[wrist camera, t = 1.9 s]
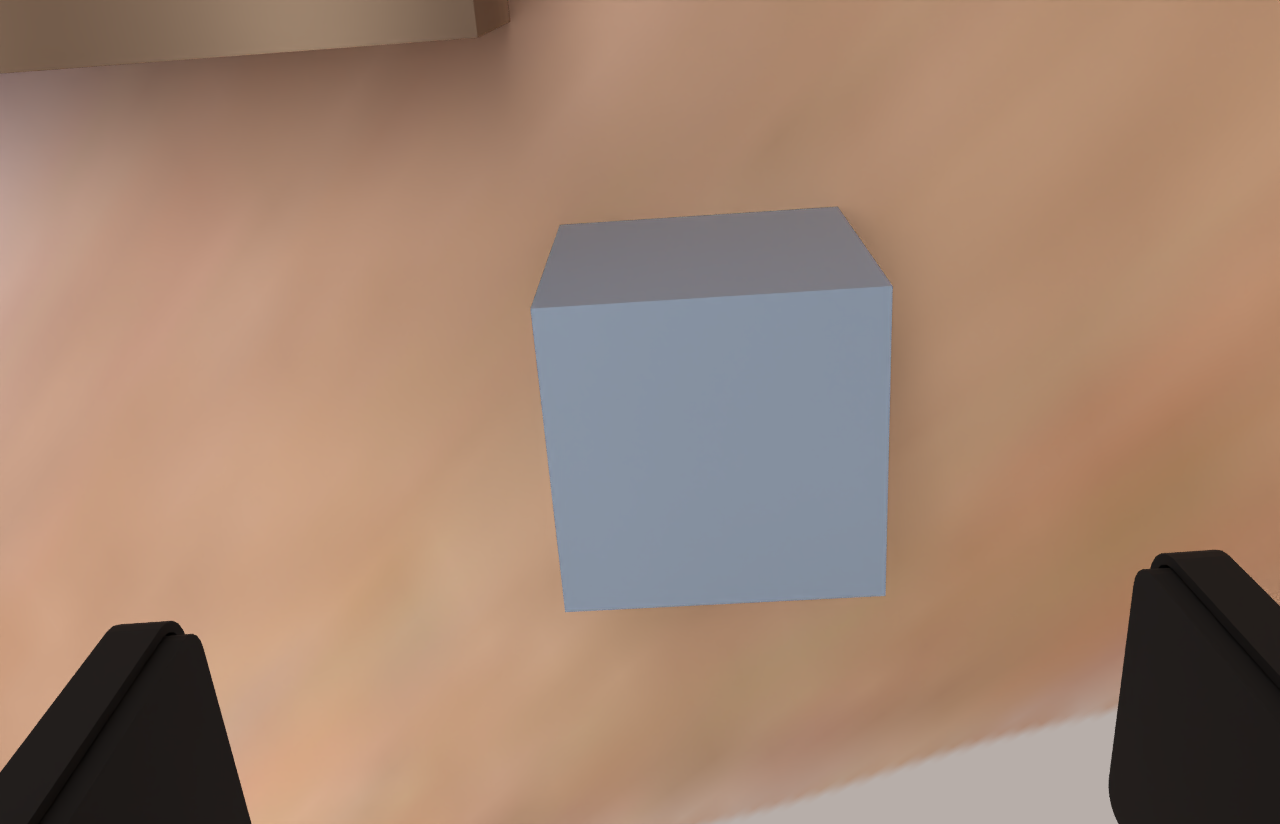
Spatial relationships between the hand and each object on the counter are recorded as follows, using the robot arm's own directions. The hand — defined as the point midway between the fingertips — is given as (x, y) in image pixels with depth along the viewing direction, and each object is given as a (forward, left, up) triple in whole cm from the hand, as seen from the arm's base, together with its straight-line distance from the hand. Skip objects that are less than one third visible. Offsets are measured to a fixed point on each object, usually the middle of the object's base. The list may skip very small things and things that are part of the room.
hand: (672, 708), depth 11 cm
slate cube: (-1, 0, -11) cm, 11 cm away
